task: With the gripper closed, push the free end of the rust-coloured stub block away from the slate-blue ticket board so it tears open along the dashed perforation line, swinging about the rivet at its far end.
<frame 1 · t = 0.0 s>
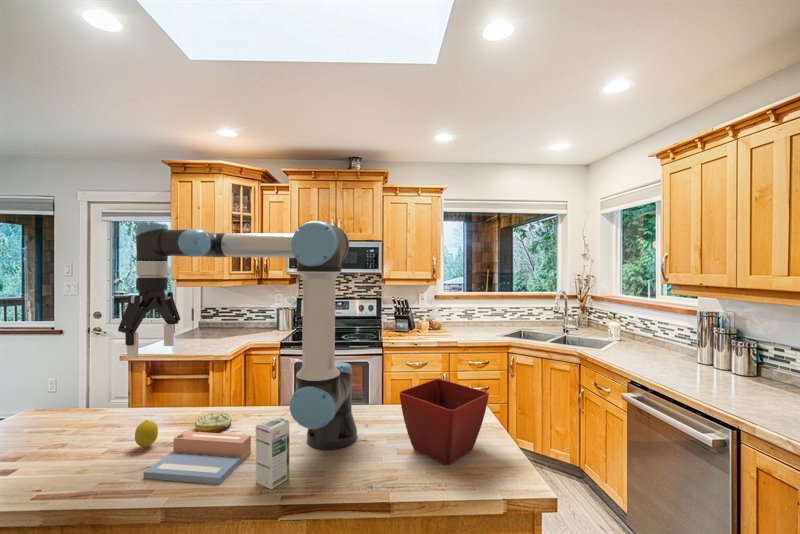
hand: (151, 351, 108), 28 cm above the counter, fingers open, 13 cm apart
syrup box: (272, 481, 93), on the counter
decorated donut: (213, 428, 122), on the counter
ticket board: (194, 469, 97), on the counter
plant pot: (443, 450, 109), on the counter
stub: (212, 445, 105), point 3 cm above the counter, hinge at 0.0°
lemon: (146, 448, 109), on the counter
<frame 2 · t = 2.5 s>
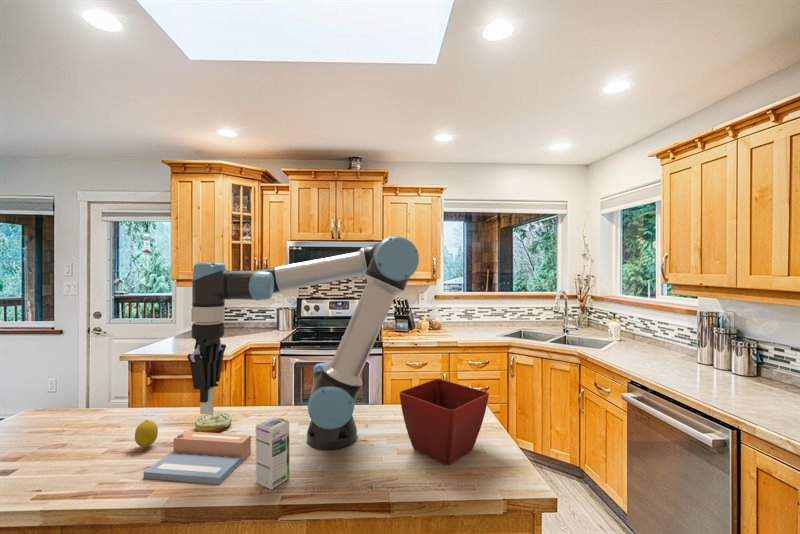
hand: (206, 412, 98), 15 cm above the counter, fingers closed
nothing on the counter moved.
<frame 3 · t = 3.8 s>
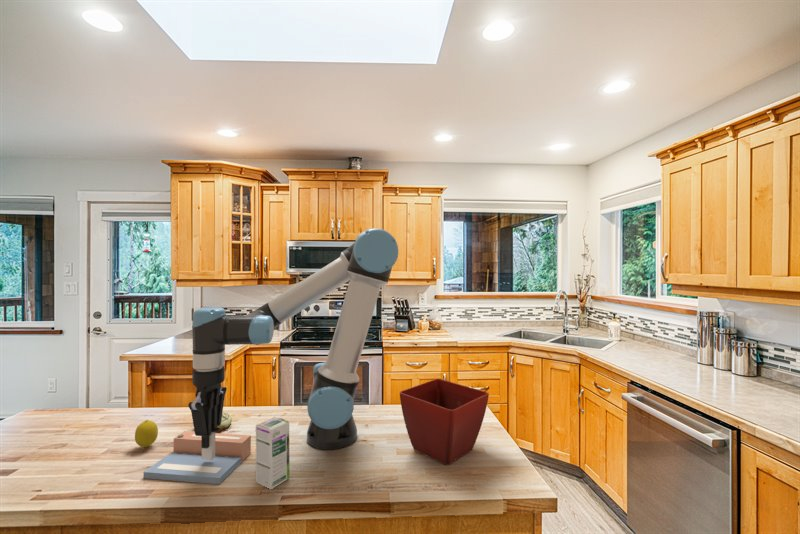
hand: (208, 457, 98), 3 cm above the counter, fingers closed
nothing on the counter moved.
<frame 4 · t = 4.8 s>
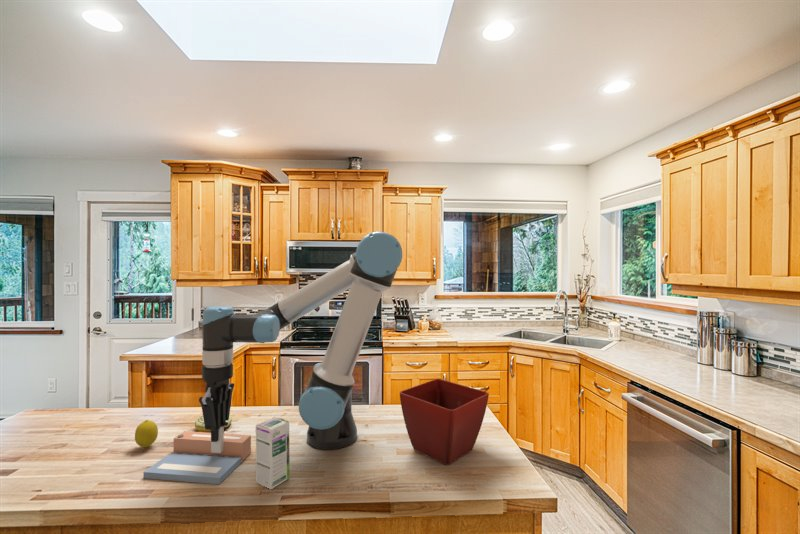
hand: (217, 451, 102), 3 cm above the counter, fingers closed
stub: (212, 445, 105), point 3 cm above the counter, hinge at 0.3°, touching gripper
everything else where it was.
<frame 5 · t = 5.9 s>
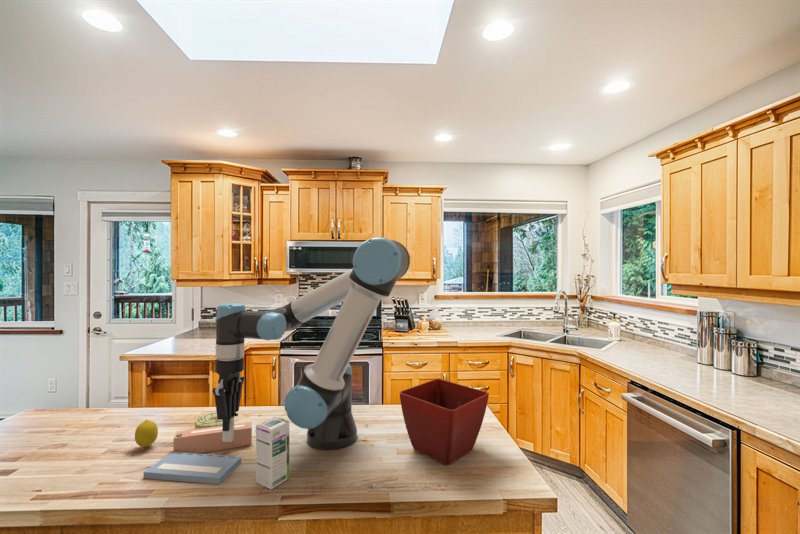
hand: (227, 440, 107), 3 cm above the counter, fingers closed
stub: (214, 437, 109), point 3 cm above the counter, hinge at 27.0°, touching gripper
everything else where it was.
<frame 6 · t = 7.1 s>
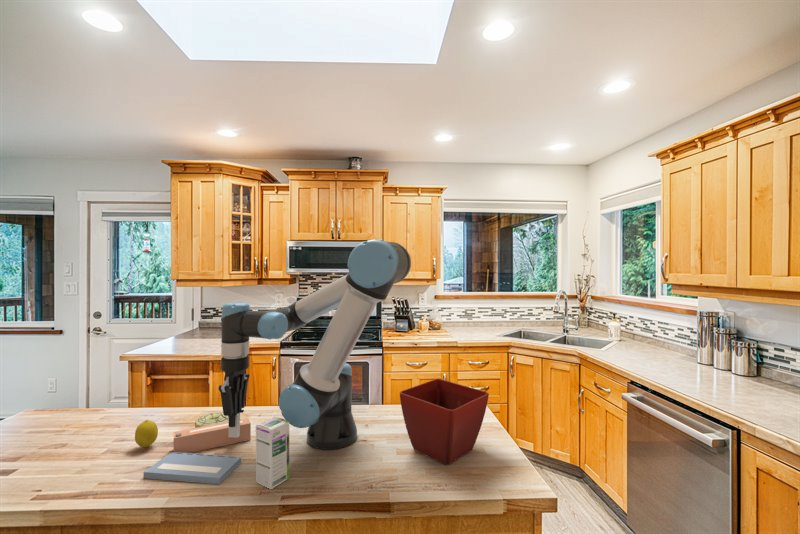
hand: (234, 436, 110), 3 cm above the counter, fingers closed
stub: (213, 435, 111), point 3 cm above the counter, hinge at 37.1°, touching gripper
everything else where it was.
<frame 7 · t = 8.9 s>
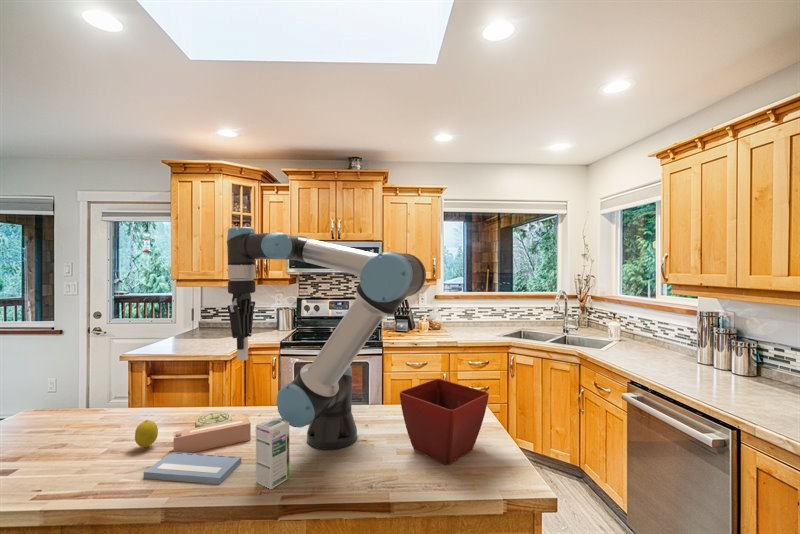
hand: (242, 359, 111), 25 cm above the counter, fingers closed
stub: (213, 435, 111), point 3 cm above the counter, hinge at 37.1°
everything else where it was.
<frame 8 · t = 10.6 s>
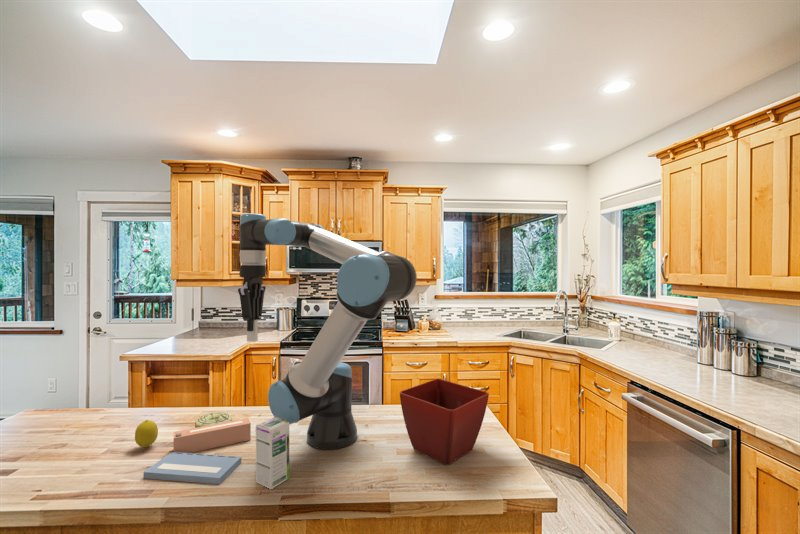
hand: (252, 340, 116), 29 cm above the counter, fingers closed
nothing on the counter moved.
at the end: stub at +37° (first picture: +0°); stub touching nothing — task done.
